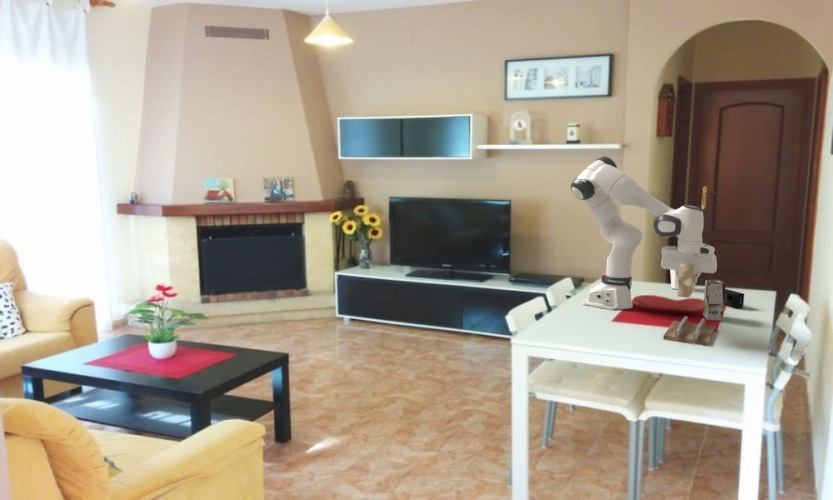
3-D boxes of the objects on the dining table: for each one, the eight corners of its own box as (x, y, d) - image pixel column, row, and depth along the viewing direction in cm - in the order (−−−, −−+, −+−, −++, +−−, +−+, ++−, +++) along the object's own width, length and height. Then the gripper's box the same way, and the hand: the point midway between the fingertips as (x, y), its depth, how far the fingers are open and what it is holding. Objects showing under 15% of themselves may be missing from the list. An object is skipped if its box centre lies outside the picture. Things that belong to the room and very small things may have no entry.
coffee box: (723, 321, 283) (726, 284, 280) (707, 320, 284) (710, 283, 281) (718, 315, 292) (721, 279, 289) (702, 314, 293) (705, 278, 290)
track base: (663, 339, 257) (664, 329, 257) (673, 324, 278) (674, 314, 277) (708, 345, 250) (708, 335, 249) (715, 329, 270) (716, 320, 269)
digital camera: (716, 304, 312) (717, 289, 310) (725, 303, 314) (726, 288, 312) (734, 309, 302) (735, 294, 301) (743, 308, 304) (744, 293, 303)
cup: (691, 291, 337) (693, 265, 335) (671, 290, 337) (673, 265, 335) (683, 286, 347) (685, 262, 345) (664, 286, 347) (666, 261, 345)
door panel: (677, 296, 256) (679, 265, 254) (684, 289, 268) (686, 259, 266) (688, 297, 254) (690, 266, 252) (695, 290, 266) (696, 260, 264)
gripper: (660, 246, 261) (658, 280, 263) (716, 250, 250) (713, 286, 253) (663, 243, 266) (661, 277, 268) (718, 248, 255) (716, 283, 258)
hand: (687, 281), depth 260 cm, fingers closed on door panel, 4 cm apart
